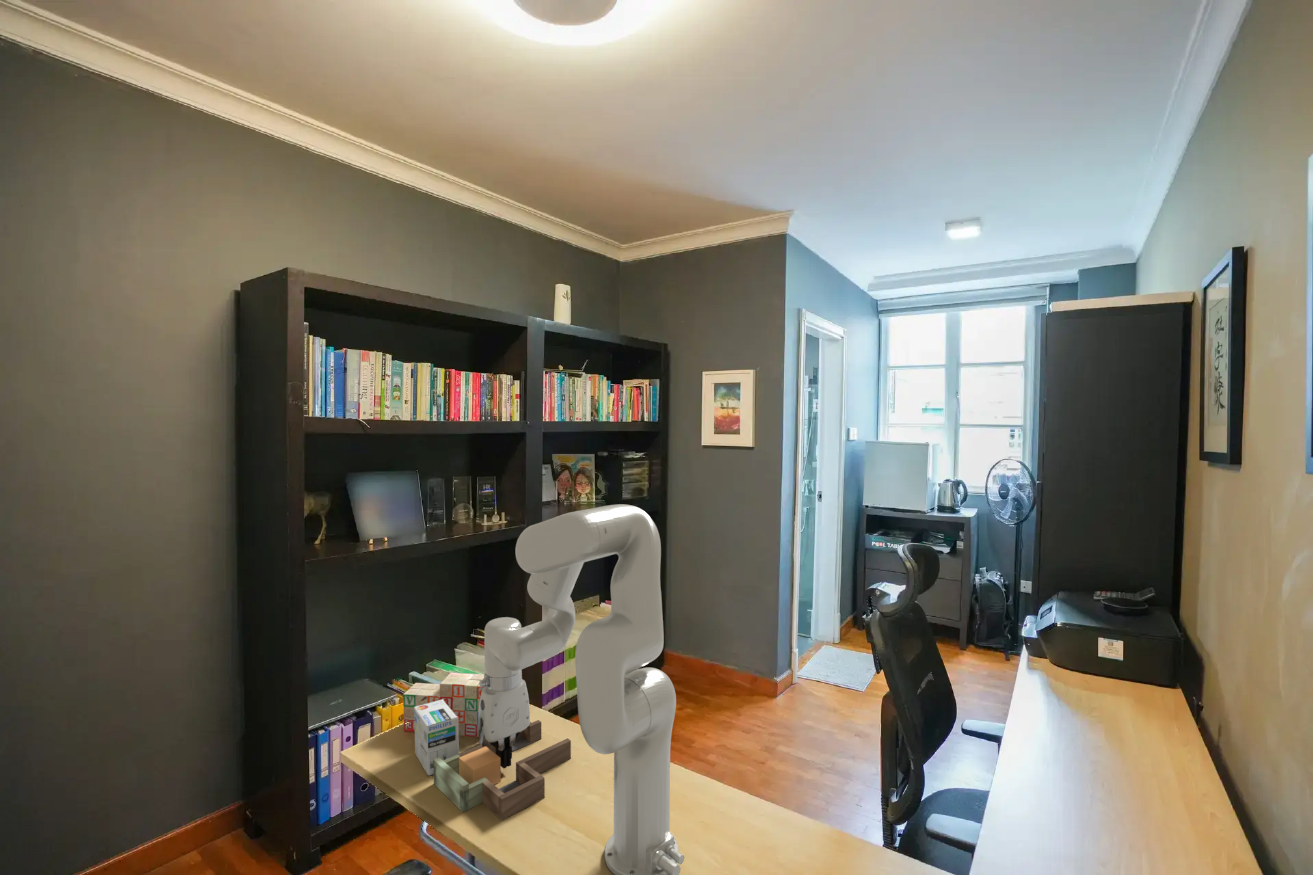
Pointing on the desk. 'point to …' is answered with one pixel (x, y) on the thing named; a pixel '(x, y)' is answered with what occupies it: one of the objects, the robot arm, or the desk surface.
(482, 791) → the box
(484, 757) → the block
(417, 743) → the light bulb box
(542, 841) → the desk surface
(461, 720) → the stack of blocks
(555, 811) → the desk surface
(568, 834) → the desk surface
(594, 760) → the desk surface
